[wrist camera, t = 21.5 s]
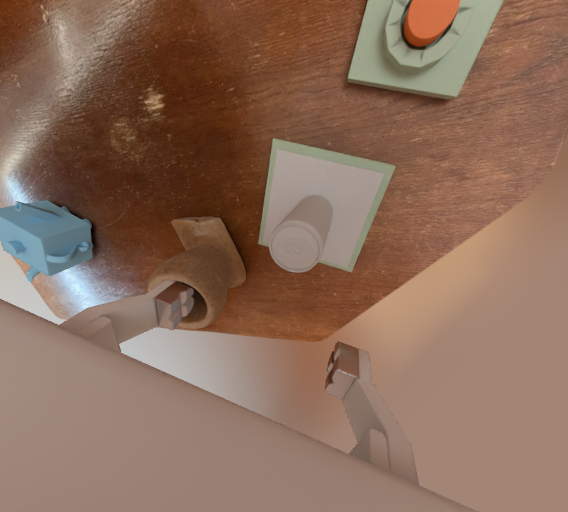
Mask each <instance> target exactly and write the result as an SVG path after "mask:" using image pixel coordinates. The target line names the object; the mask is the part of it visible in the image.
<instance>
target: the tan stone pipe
mask: <svg viewBox="0 0 568 512" xmlns="http://www.w3.org/2000/svg"><path fill="white" fill-rule="evenodd" d="M171 223H172V225H173V227H174V228H175V230H176V232H177V234H178V236H179V238H180V240H181V242H182V244H183V246H184V247H185V249H186V251H184V252H182V253H179V254H177V255H175V256H173V257H171V258H169V259H167V260H166V261H165V262H163V263H162V264H161V265H160V266H158V267H157V268H156V269H155V270H154V272H153V273H152V275H151V276H150V278H149V280H148V287H147V293H148V292H149V291H151V290H152V289H154V288H155V287H156V286H158V285H159V284H161V283H162V282H164V281H165V280H168V279H170V280H172V281H175V282H178V283H180V284H183V285H185V286H188V287H190V288H192V289H194V294H193V295H192V297H193V299H194V306H193V308H192V310H191V312H190V313H189V314H188V315H187V316H185V317H182V319H181V322H180V323H179V324H178V325H177V326H180V327H184V328H190V329H197V328H203V327H206V326H208V325H209V324H211V323H212V322H214V321H215V320H216V319H217V317H218V316H219V315H220V313H221V312H222V310H223V308H224V305H225V302H226V299H227V295H228V289H229V288H234V287H237V286H239V285H241V284H242V283H243V282H244V281H245V280H246V271H245V267H244V264H243V262H242V259H241V257H240V255H239V253H238V251H237V249H236V247H235V244H234V242H233V241H232V239H231V237H230V235H229V233H228V231H227V229H226V227H225V225H224V223H223V222H222V220H221V218H219V217H217V218H215V217H199V218H198V217H187V218H181V219H174V220H172V222H171Z"/></svg>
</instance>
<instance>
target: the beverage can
mask: <svg viewBox="0 0 568 512" xmlns="http://www.w3.org/2000/svg"><path fill="white" fill-rule="evenodd" d="M332 218H333V209H332V206H331V204H330V202H329V201H328V200H327V199H326V198H324V197H322V196H319V195H312V196H309V197H306V198H305V199H303V200H302V201H301V202H300V203H299V204H298V205H297V206H296V207H295V208H294V209H293V210H292V211H291V212H290V213H289V214H288V215H287V216H286V217H285V218H284V219H283V221H282V222H281V223H280V224H279V225H278V226H277V227H276V228H275V230H274V231H273V233H272V236H271V238H270V241H269V250H270V254H271V256H272V258H273V260H274V261H275V262H276V264H278V265H279V266H280V267H281V268H283V269H285V270H287V271H290V272H300V273H301V272H305V271H308V270H310V269H311V268H313V267H314V266H315V265H316V264H317V262H318V261H319V260H320V258H321V256H322V254H323V250H324V247H325V243H326V240H327V236H328V232H329V229H330V225H331V222H332Z"/></svg>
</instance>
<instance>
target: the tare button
mask: <svg viewBox="0 0 568 512" xmlns="http://www.w3.org/2000/svg"><path fill="white" fill-rule="evenodd" d="M459 4H460V0H412V2H411V4H410V7H409V9H408V11H407V14H406V17H405V20H404V35H405V38H406V40H407V41H408V43H409V44H411V45H413V46H415V47H423V46H427V45H429V44H431V43H432V42H434V41H435V40H436V39H438V38H439V37H440V36H441V34H442V33H443V32H444V31H445V29H446V28H447V27H448V26H449V24H450V23H451V22H452V20H453V19H454V17H455V15H456V13H457V10H458V8H459Z"/></svg>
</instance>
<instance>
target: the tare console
mask: <svg viewBox="0 0 568 512" xmlns="http://www.w3.org/2000/svg"><path fill="white" fill-rule="evenodd" d="M503 1H504V0H460V4H459V8H458V10H457V13H456V15H455V17H454V19H453V20H452V22H451V23H450V24H449V26H448V27H447V28H446V29H445V31H444V32H443V33H442V34H441V36H440V37H439V38H438V39H436V40H435V41H434V42H432V43H431V44H429V45H427V46H423V47H415V46H413V45H411V44H409V43H408V41H407V40H406V38H405V35H404V20H405V17H406V14H407V11H408V9H409V7H410V4H411V2H412V0H368V1H367V5H366V9H365V13H364V17H363V20H362V24H361V28H360V32H359V36H358V39H357V43H356V47H355V51H354V55H353V58H352V62H351V66H350V70H349V74H348V77H347V79H348V83H354V84H359V85H365V86H371V87H377V88H383V89H388V90H394V91H400V92H406V93H411V94H417V95H423V96H429V97H435V98H440V99H446V100H452V99H454V98H456V97H457V96H458V94H459V92H460V90H461V88H462V86H463V84H464V82H465V80H466V78H467V76H468V73H469V71H470V69H471V67H472V65H473V63H474V61H475V59H476V57H477V55H478V53H479V51H480V48H481V46H482V44H483V42H484V40H485V38H486V36H487V34H488V32H489V30H490V28H491V26H492V23H493V21H494V19H495V17H496V15H497V13H498V11H499V9H500V7H501V5H502V3H503Z"/></svg>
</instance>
